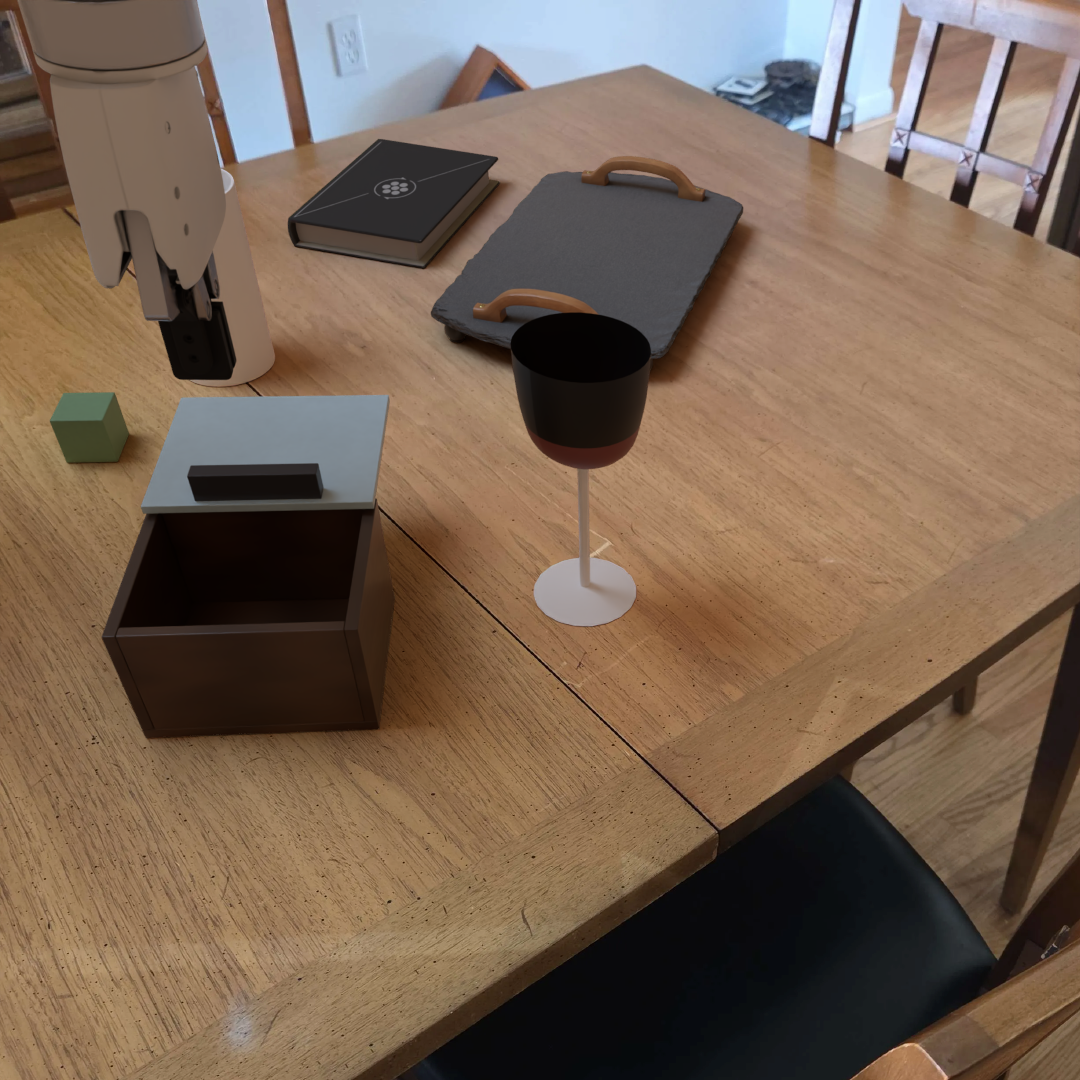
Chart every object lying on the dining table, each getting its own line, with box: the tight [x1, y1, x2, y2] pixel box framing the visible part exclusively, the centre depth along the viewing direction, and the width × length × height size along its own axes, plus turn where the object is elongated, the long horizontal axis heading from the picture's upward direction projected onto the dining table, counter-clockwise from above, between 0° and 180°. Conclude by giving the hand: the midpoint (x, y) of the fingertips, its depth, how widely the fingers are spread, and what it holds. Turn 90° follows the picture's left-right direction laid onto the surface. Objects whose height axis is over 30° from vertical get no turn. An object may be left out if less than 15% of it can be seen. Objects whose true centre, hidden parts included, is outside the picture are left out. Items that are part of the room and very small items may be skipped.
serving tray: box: [430, 155, 744, 371], centre depth 115 cm, size 39×23×6 cm, turn 165°
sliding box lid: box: [140, 394, 391, 515], centre depth 78 cm, size 15×13×3 cm
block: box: [49, 391, 130, 464], centre depth 93 cm, size 4×4×4 cm
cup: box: [189, 168, 276, 388], centre depth 98 cm, size 8×8×16 cm
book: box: [287, 138, 501, 269], centre depth 125 cm, size 22×15×3 cm
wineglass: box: [510, 312, 651, 627], centre depth 78 cm, size 8×9×20 cm
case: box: [101, 497, 396, 739], centre depth 75 cm, size 15×13×9 cm
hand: (206, 371), depth 66 cm, fingers closed
